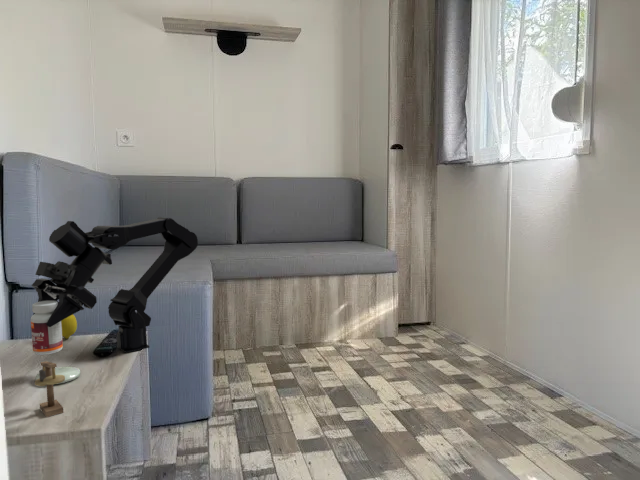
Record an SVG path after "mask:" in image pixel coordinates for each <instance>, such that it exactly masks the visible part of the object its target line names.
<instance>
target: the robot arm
mask: <svg viewBox="0 0 640 480" xmlns="http://www.w3.org/2000/svg"><path fill="white" fill-rule="evenodd" d="M91 229H92V230H91V231H88V232H85V231H84V230H82V229H81V228H80V227H79V226H78V224H77V222H75V221H74V220H73V221H72V220H67V221H66V222H65V224H62V225H61V226H59V227H58V228H56V229H54V230H52V232H51V234H50V236H49V238H48V241H49V243H51V244H53V246H54V247H56V248H57V249H58V250H59V251H60V252H62V253H63V254H64V255H65V256H66V257H68V258H71V257H72V258H73V257H75V258H74V259H73V260H72V261H71V263H70V264H69V263H67V262H64V261H57V262H55V263H50V262H46V261H39V263H38V265H37V267H36V268H37V269H36V271H35V276H39V277H40V276H42V277H41V278H36V279H35V280H34V281H33V283H32V284H31V287H32V288H33V289H35V291H36V293H37V297H38V299H37V302H41V301H57V302H58V305H57V307H56V308H55V310H54V312H53V313H52V315H51V316H50V318H49V320H48V322H47V323H46V325H47V326H48V327H51V326H53V325H55V324H57V323H58V322H60V321H62V320H63V319H65V318H67V317H69V316H71V315H74V314H76V313H79V312H80V311H84V309H85V308H86V309H90V310H93V308H94V307H95V306H96V304H97V300H98V299H97V296H96V295H95V294H93V293H92V291H90V290H88V289H87V288H86V285H87V284H88V283H89V284H93V282H94V280H95V279H94V278H93V276H94V274H96V272H97V271H98V269H99V268H100V266H101V265H102V264H104V265H109V266H110V265H112V264H113V260H112V257H111V253H107V252H104V251H103V250H101V249H104V250H111V251H112V250H117V249H119V248H121V247H124V246H126V245H128V243H129V242H131V241H133V240H138V239H142V238H146V237H149V236H155V235H158V234H159V235H160V236H161V237H162V239H163V240H164V241H165V242H164V246H163V251H162V252H161V254H160V255H158V257H157V258H156V259H155V261H154V262H153V263H152V264H151V265H150V267H149V268H148V269H147V270H146V271H145V272H144V273H143V275H142V276H141V277H140V279H139V280H137V282H136V283H135V284H134V285H133V287H131V288H130V289H123V288H121V289H119V290H118V291H117V293H116V295H115V296H114V297H113V298H110V303H109V305H108V308H107V309H108V315H109V318H111V320H112V322H113V324H114V325H115V326H118V331H117V333H116V340H117V341H116V342H117V347H116V348H118V349H119V350H120V351H122V352H123V353H125V354H126V353H132V352H136V351H140V350H146V349H149V348H150V344H148V340H147V327H148V326H149V327H150V325H151V321H152V317H151V316H150V315H148V314H147V313H146V312H145V310H146V309H147V303H148V298H149V297H150V296H151V295H152V294H153V292H154V291H155V290H156V288H158V286H159V285H160V284H161V282H162V281H163V280H164V279H165V277H166V276H167V275H168V273H170V272H171V271H172V269H173V268H174V267H175V266H176V264H177V263H179V262H178V261H181V260H182V259H184V258H187V257H188V256H190V255H191V254H193V252H194V251H195V250H197V248H198V246H199V241H198V235H197V234H195V232H193V231H190V230H189V229H188V228H186V227H185V226H182V225H181V224H179V223H178V222H177V221H175V220H174V219H173V218H171V217H164V216H163V217H161V216H159V217H157V218H153V219H149V220H144V221H139V222H134V223H130V224H125V225H96V226H93V228H91ZM43 277H46V278H43ZM32 313H33V312H32ZM34 314H35V313H33V314H32V315H34Z"/></svg>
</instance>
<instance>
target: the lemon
mask: <svg viewBox="0 0 640 480" xmlns="http://www.w3.org/2000/svg"><path fill="white" fill-rule="evenodd" d="M61 326H62V338H65V339H67V340H68V339H69V338H70V337H71V336H73V335H74V334H75V332H76V331H77V329H78V321H77V318H76V315H74V314H73V315H71V316H69V317H67V318H65V319H63V320H62V321H61Z"/></svg>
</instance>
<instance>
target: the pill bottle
mask: <svg viewBox="0 0 640 480" xmlns="http://www.w3.org/2000/svg"><path fill="white" fill-rule="evenodd" d="M57 301H58V300H57ZM57 301H41V302H38V301H36V302H33V303H32V308H31V310H32V313H35V314H34V315H33V314H32V315H31V317H30V329H31V330H30V331H31V344H32V345H31V346H32V352H33V353H34V354H35V355H41V356H42V355H50V354H55V353H58V352H60V351H61V350H63V345H64V344H63V343H64V342H63V337H62V326H61V321H60V322H58V323H57V324H55V325H53V326H51V327H48V326H47V325H46V323H47V322H48V320H49V318H50V316H51V315H52V313H53V312H54V310H55V308H56V307H57V305H58V302H59V301H58V302H57Z"/></svg>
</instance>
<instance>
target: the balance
mask: <svg viewBox="0 0 640 480" xmlns="http://www.w3.org/2000/svg"><path fill="white" fill-rule="evenodd" d="M40 366H41V367H42V369H40V370H39V373H38V374H39V376H40V378H39V379H37V380H36V379H35V380H34V385H35V386H37V387H44V386H46V399H47V400H46V401H44V402H40V403H39V409H40V411H41V412H42V414H43V415H44V416H45V417H46V418H48V417H52V416H56V415H59V414H63V413H64V407H63V406H62V404H61V403H60V402H59V400H57V399H55V389H54V385H59V384H58V383H61V382H63V381H64V380H65V376H64V375H55V368H58V366H57V363H56V362H51V361H41V362H40ZM61 384H62V383H61Z"/></svg>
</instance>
